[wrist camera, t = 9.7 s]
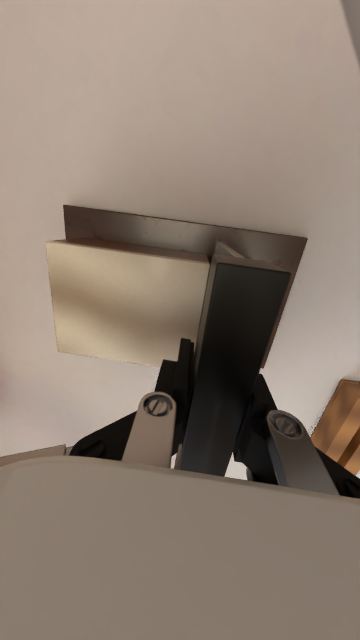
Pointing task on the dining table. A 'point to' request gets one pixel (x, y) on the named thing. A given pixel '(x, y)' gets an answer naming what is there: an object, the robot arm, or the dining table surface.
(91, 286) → the cake
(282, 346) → the dining table surface
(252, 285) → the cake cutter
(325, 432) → the knife block
